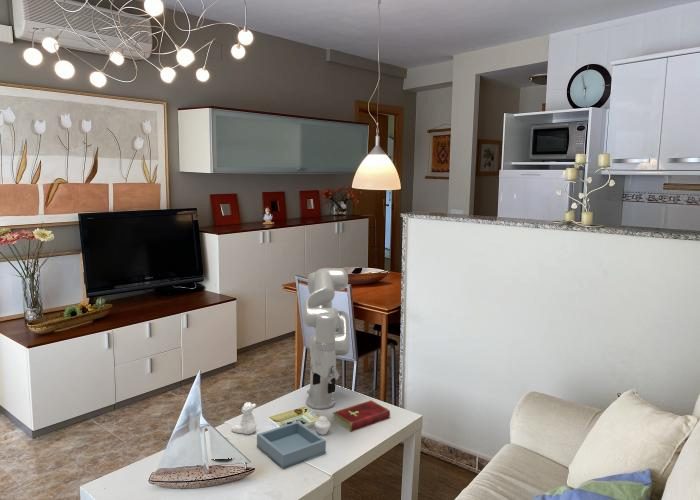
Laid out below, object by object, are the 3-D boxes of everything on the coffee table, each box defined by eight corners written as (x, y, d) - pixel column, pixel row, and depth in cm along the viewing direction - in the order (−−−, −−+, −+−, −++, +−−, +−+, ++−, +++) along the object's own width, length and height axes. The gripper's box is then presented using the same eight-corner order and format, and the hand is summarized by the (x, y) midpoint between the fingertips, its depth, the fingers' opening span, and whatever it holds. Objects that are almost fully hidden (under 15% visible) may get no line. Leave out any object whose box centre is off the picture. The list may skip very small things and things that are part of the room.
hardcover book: (389, 419, 224) (390, 409, 223) (350, 433, 211) (351, 423, 210) (370, 408, 233) (371, 399, 232) (332, 421, 220) (332, 411, 219)
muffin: (324, 438, 205) (324, 421, 204) (311, 433, 208) (311, 416, 207) (333, 431, 210) (333, 415, 209) (320, 427, 213) (320, 410, 212)
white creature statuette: (249, 423, 215) (249, 394, 213) (263, 430, 209) (264, 401, 208) (230, 431, 208) (230, 402, 206) (244, 439, 202) (244, 408, 200)
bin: (256, 447, 197) (257, 434, 196) (297, 433, 208) (298, 421, 207) (282, 469, 183) (283, 455, 182) (325, 453, 194) (325, 440, 193)
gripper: (304, 341, 208) (303, 383, 211) (330, 353, 195) (329, 398, 197) (319, 337, 213) (318, 378, 215) (347, 350, 199) (345, 393, 202)
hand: (323, 388), depth 206 cm, fingers open, 9 cm apart
